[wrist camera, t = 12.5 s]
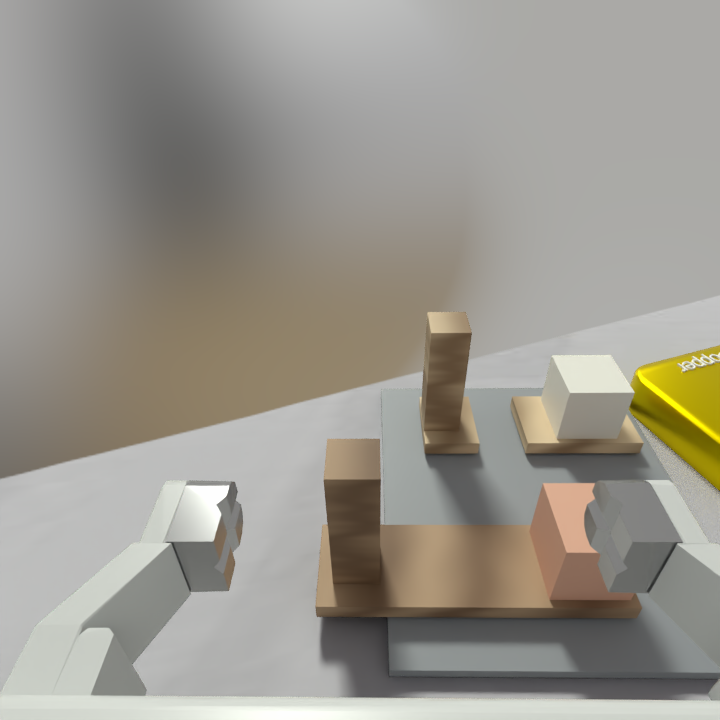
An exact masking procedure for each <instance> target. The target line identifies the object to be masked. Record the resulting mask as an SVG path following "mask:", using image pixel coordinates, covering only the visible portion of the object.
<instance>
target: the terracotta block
mask: <svg viewBox="0 0 720 720" xmlns="http://www.w3.org/2000/svg"><path fill="white" fill-rule="evenodd" d="M594 485H595V483H543V484H542V488H541V491H540V495H539V498H538V502H537V505H536V509H535V512H534V516H533V520H532V523H531V527H530V530H529V532H530V535H531V539H532V542H533V546H534V549H535V553H536V556H537V559H538V563H539V566H540V570H541V573H542V577H543V580H544V584H545V587H546V590H547V594H548V597H549V600H631V599H632V597H633V595H634V593H617V592H608V590H607V587H606V585H605V582H604V580H603V577H602V575H601V572H600V570H599V567H598V565H597V564H598V561H599V558H600V556H601V555H600V554H599V553H598V552H597V551H595V550H594V549H593V548H592V547H591V546H590V544H589V542H588V539H587V536H586V532H585V527H584V513H585V510H586V507H587V504H588V503H590V502H591V501H593V500H594V499H595V497H594V495H593V492H592V490H593V488H594Z"/></svg>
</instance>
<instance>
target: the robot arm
mask: <svg viewBox="0 0 720 720" xmlns="http://www.w3.org/2000/svg"><path fill="white" fill-rule="evenodd" d="M237 492H238V491H237V488H236V484H235V482H226V481H170V480H168V481H167V482H166V483H165V484H164V485H163V487H162V489H161V491H160V494H159V496H158V498H157V501H156V503H155V506H154V508H153V511H152V513H151V515H150V518H149V520H148V523H147V525H146V527H145V530H144V532H143V535H142V537H141V540H140V542H139V543H132V544H131V545H130V546H128V547H127V548H126V549H125V550H124V551H122V552H121V553H120V554H119V555H118V556H117V557H115V558H114V559H113V560H112V561H111V562H110V563H108V564H107V565H106V566H105V567H104V568H102V569H101V570H100V571H99V572H98V573H97V574H95V575H94V576H93V577H92V578H91V579H90V580H88V581H87V582H86V583H85V584H84V585H82V586H81V587H80V588H79V589H78V590H77V591H75V592H74V593H73V594H72V595H71V596H70V597H68V598H67V599H66V600H65V601H64V602H62V603H61V604H60V605H59V606H58V607H57V608H55V609H54V610H53V611H52V612H51V613H50V614H48V615H47V616H46V617H45V618H44V619H42V620H41V621H40V622H39V623H38V624H37V625H36V626H35V628H34V630H33V631H32V633H31V635H30V637H29V639H28V641H27V643H26V645H25V647H24V649H23V651H22V652H21V654H20V656H19V658H18V660H17V662H16V664H15V666H14V668H13V670H12V672H11V674H10V675H9V677H8V679H7V681H6V683H5V685H4V687H3V689H2V691H1V693H0V720H720V678H719V679H718V681H717V682H716V683H715V684H714V685H713V686H712V688H711V689H710V691H709V693H708V695H709V697H710V699H711V700H605V699H487V698H366V697H238V696H145V694H146V691H147V690H146V688H145V686H144V684H143V682H142V680H141V679H140V677H139V675H138V674H137V672H136V670H135V669H134V667H133V665H132V664H133V663H134V662H135V660H136V659H137V658H138V657H139V656H140V654H141V653H142V652H143V651H144V650H145V648H146V647H147V646H148V645H149V644H150V643H151V641H152V640H153V639H154V638H155V637H156V635H157V634H158V633H159V632H160V631H161V629H162V628H163V627H164V626H165V625H166V623H167V622H168V621H169V620H170V619H171V617H172V616H173V615H174V614H175V613H176V611H177V610H178V609H179V608H180V607H181V605H182V604H183V603H184V602H185V601H186V600H187V598H188V597H189V596H190V595H191V593H190V592H207V591H229V588H230V584H231V579H232V575H233V571H234V567H235V561H234V557H233V553H232V552H233V551H234V550H235V549H236V548H237V547H238V546H239V545H240V540H241V536H242V526H243V515H242V508H241V504H239V503H238V502H237V501H236V496H237ZM592 492H593V495H594V497H595V499H594V500H593V501H591V502H590V503H588V504H587V507H586V510H585V513H584V527H585V532H586V536H587V539H588V542H589V544H590V546H591V547H592V548H593V549H594V550H595V551H597V552H598V553H599V554H600V555H601V556H600V558H599V561H598V564H597V565H598V567H599V570H600V572H601V575H602V577H603V580H604V582H605V585H606V587H607V590H608V592H617V593H649V594H648V596H649V597H650V598H651V599H652V600H653V601H654V602H655V603H656V604H657V605H658V606H659V607H660V608H661V609H662V610H663V611H664V612H665V613H666V614H667V615H668V616H669V617H670V618H671V619H672V620H673V621H674V622H675V623H676V624H677V625H678V626H679V627H680V628H681V629H682V630H683V631H684V632H685V633H686V634H687V635H688V636H689V637H690V638H691V639H692V640H693V641H694V642H695V643H696V644H697V645H698V647H699V648H700V649H701V650H702V651H703V652H704V653H705V654H706V655H707V656H708V657H709V658H710V659H711V660H712V661H713V662H714V663H715V664H716V665H717V666H718V667H719V668H720V545H719V544H716V543H710V542H709V540H708V538H707V537H706V535H705V534H704V532H703V530H702V529H701V527H700V525H699V524H698V522H697V521H696V519H695V517H694V516H693V514H692V513H691V511H690V509H689V508H688V506H687V504H686V503H685V501H684V500H683V498H682V496H681V495H680V493H679V492H678V490H677V488H676V487H675V485H674V484H673V483H672V482H671V481H669V480H599V481H598V482H597V483H595V485H594V488H593V490H592Z"/></svg>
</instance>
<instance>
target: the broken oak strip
mask: <svg viewBox="0 0 720 720" xmlns="http://www.w3.org/2000/svg"><path fill="white" fill-rule="evenodd" d="M471 335H472V332H471V329H470V325H469V322H468V318H467V315H466V312H428V313H427V327H426V343H425V357H424V371H423V386H422V397H420V400H419V410H420V419H421V428H422V436H423V445H424V453H425V454H474V453H478V450H479V444H480V443H479V439H478V435H477V430H476V426H475V422H474V418H473V414H472V409H471V405H470V401H469V397H463V396H464V388H465V381H466V373H467V365H468V357H469V350H470V342H471ZM541 397H542V396H512V399H511V404H510V408H511V411H512V414H513V417H514V420H515V423H516V426H517V429H518V432H519V435H520V438H521V441H522V444H523V447H524V450H525V453H640V451H641V449H642V446H643V444H644V442H643V441H642V439H641V437H640V435H639V434H638V432H637V430H636V429H635V427H634V425H633V424H632V422H631V420H630V419H629V417H628V415H627V414H626V417H625V419H624V422H623V425H622V427H621V430H620V433H619V435H618V438H617V439H557V438H556V436H555V434H554V431H553V429H552V426H551V424H550V421H549V419H548V416H547V414H546V411H545V409H544V407H543V404H542V402H541Z"/></svg>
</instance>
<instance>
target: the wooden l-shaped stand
mask: <svg viewBox="0 0 720 720" xmlns="http://www.w3.org/2000/svg"><path fill="white" fill-rule="evenodd" d="M380 486H381V477H380V439H327V449H326V460H325V471H324V488H325V500H326V511H327V522H328V525H322V537H321V548H320V560H319V571H318V583H317V595H316V606H315V607H316V615H317V617H470V618H637V617H638V615H639V613H640V612H641V610H642V606H641V604H640V602H639V599H638V597H637V595H636V593H634V595H633V597H632V599H631V600H549V597H548V594H547V590H546V587H545V584H544V580H543V577H542V573H541V570H540V566H539V563H538V559H537V556H536V553H535V549H534V546H533V542H532V539H531V535H530V532H529V530H530V527H531V525H380Z"/></svg>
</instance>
